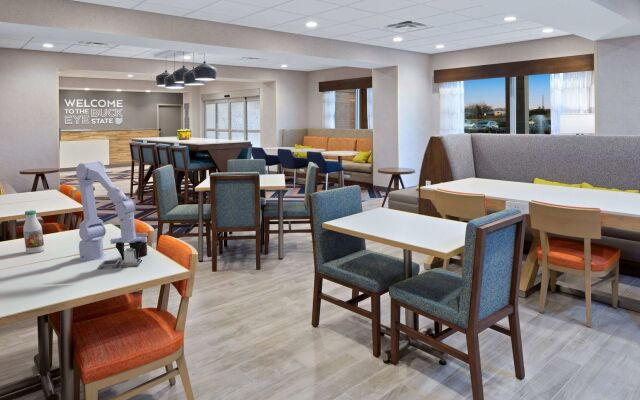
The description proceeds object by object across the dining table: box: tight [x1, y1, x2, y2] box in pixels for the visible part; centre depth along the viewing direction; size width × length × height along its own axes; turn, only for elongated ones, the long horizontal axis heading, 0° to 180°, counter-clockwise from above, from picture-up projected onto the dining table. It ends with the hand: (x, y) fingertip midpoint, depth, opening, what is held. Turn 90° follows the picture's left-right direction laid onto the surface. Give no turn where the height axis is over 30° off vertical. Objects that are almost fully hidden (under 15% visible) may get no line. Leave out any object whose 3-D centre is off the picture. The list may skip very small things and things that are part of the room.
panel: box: [97, 257, 143, 271], centre depth 199 cm, size 16×10×2 cm, turn 99°
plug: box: [123, 247, 137, 263], centre depth 199 cm, size 4×4×7 cm
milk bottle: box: [22, 209, 45, 254], centre depth 222 cm, size 8×8×20 cm
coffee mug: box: [128, 232, 149, 258], centre depth 213 cm, size 12×9×10 cm
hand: (130, 259), depth 199 cm, fingers open, 5 cm apart
